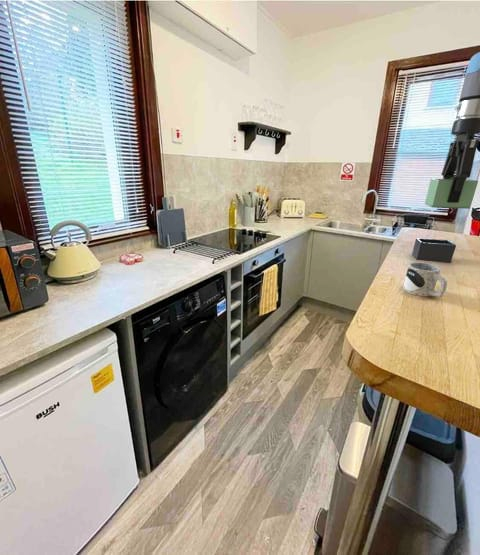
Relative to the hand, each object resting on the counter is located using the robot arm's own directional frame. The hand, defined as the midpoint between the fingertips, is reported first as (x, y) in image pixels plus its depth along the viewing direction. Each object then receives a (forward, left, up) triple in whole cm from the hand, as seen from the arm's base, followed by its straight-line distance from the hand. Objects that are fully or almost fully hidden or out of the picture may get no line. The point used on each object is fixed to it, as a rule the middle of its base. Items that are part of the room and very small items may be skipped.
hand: (447, 200), depth 87 cm
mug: (+10, +32, -20) cm, 39 cm away
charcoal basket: (0, 0, -19) cm, 19 cm away
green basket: (0, 0, -2) cm, 2 cm away
